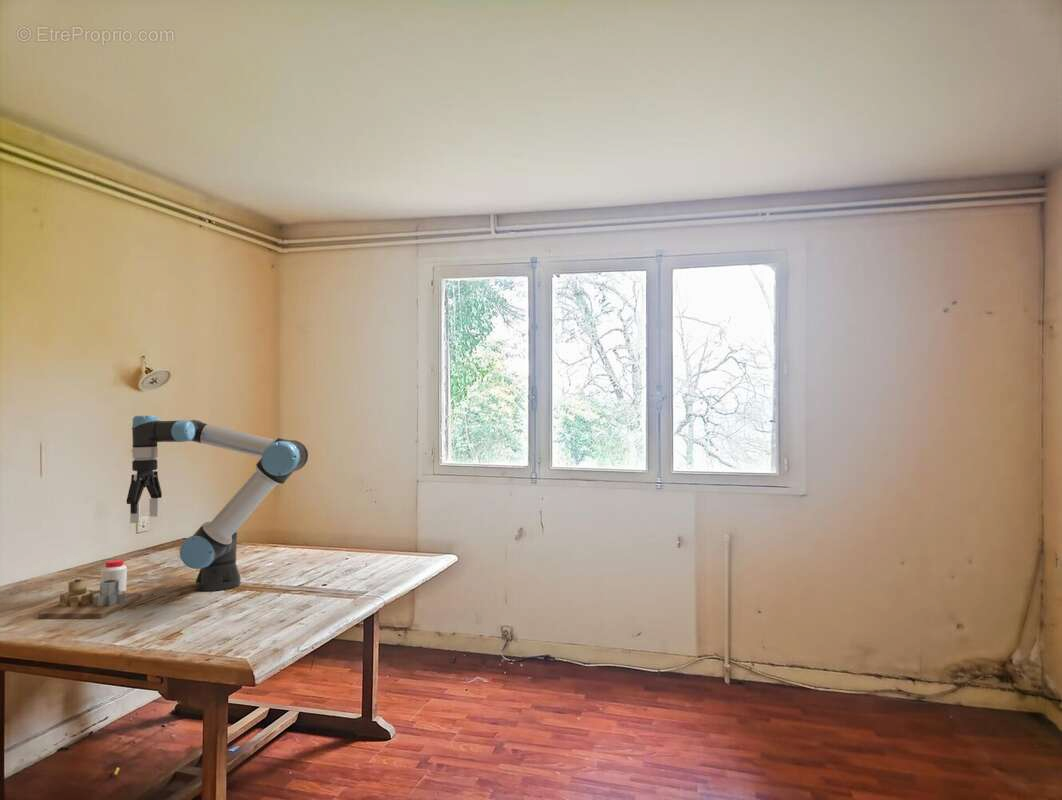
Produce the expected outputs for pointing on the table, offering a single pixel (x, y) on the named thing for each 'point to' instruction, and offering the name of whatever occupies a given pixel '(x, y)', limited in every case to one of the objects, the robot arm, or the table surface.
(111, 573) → the pill bottle
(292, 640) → the table surface
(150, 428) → the robot arm
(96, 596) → the steel gear
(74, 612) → the gear board
